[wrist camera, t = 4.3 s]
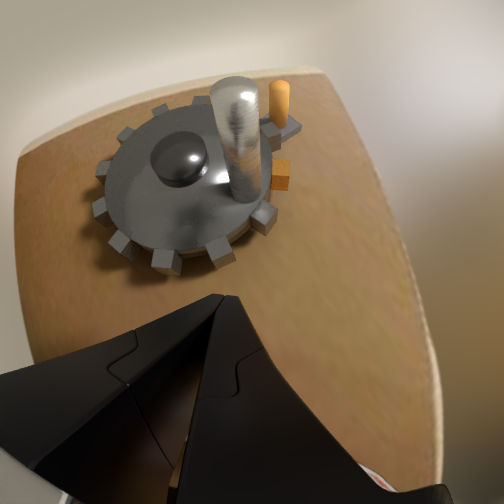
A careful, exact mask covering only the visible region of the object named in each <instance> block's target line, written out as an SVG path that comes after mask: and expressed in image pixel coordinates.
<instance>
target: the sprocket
mask: <svg viewBox="0 0 504 504" xmlns="http://www.w3.org/2000/svg"><path fill="white" fill-rule="evenodd" d="M210 97H211V99H210ZM211 101H212V104H211ZM152 113H153V115H154V118H152V119H150V120H149V121H147V122H146V123H144V124H143V125H141V126H140V127H139V128H138V129H136V130H133V129H131V128H129V127H126V128H125V129H124V130H123V131H122V132H121V133H120V134H119V135H118V136H117V137H116V138H117V140H118V141H119V143H120V144H121V146H120V148H119V149H118V151H117V152H116V154H115V156H114V157H113V159H112V161H101V162H100V163H99V166H98V169H97V171H96V174H95V176H96V177H97V179H98V180H99V181H100V182H101V183H102V184H103V185H104V186H105V196H104V197H102V198H100V199H98V200H97V201H95V202H93V203H92V207H93V213H94V218H95V219H96V220H98V221H99V222H100V223H101V224H103V225H104V226H105V227H106V228H107V227H109V226H111V225H113V224H115V225H116V226H117V228H118V230H117V231H116V233H115V234H114V235H113V237H112V238H111V239H110V241H109V242H108V243H109V244H110V245H111V246H112V247H113V248H114V249H115V250H117V251H118V252H119V253H120V254H121V255H123V256H124V257H126V258H127V259H129V260H130V261H133V260H134V258H135V257H136V256H137V254H138V253H139V252H140V250H141V248H142V249H144V250H146V251H148V252H150V253H152V254H153V258H152V264H151V267H152V268H154V269H155V270H157V271H158V272H160V273H161V274H168V275H178V276H180V273H181V266H182V260H183V259H182V258H192V257H198V256H202V255H206V254H209V255H210V258H211V260H212V262H213V263H214V265H215V266H216V268H217V269H219V268H221V267H223V266H225V265H227V264H230V263H232V262H234V261H236V259H235V256H234V253H233V251H232V249H231V246H230V244H231V243H232V242H234V241H235V240H237V239H238V238H240V237H241V236H242V235H243V234H244V233H245V232H247V231H248V230H249V229H250V228H253V229H255V230H256V231H258V232H259V233H261V234H263V235H264V236H266V235H267V234H268V233H269V231H270V230H271V228H272V227H273V226H274V224H275V223H276V222H277V212H278V208H276V207H274V206H273V205H271V204H269V203H268V199H269V195H270V192H271V186H272V190H285V191H288V184H289V176H290V160H283V159H273V166H272V153H271V152H274V151H276V150H279V149H281V132H280V131H279V129H278V128H277V126H276V125H275V124H274V122H270V123H267V124H264V125H261V126H259V106H258V87H257V84H256V83H255V82H254V81H253V80H251V79H249V78H246V77H240V76H233V77H227V78H224V79H222V80H219V81H218V82H216V83H215V84H214V85H213V86H212V87H211V89H210V96H194V99H193V102H192V105H190V106H184V107H180V108H176V109H173V110H170V111H169V109H168V107H167V105H166V103H165V104H163V105H161V106H158V107H156V108H154V109H152ZM139 246H140V247H141V248H140V247H139Z"/></svg>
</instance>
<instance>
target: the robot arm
mask: <svg viewBox="0 0 504 504" xmlns="http://www.w3.org/2000/svg"><path fill="white" fill-rule="evenodd" d="M187 435H188V437H187ZM186 438H187V442H186V447H185V452H184V457H183V462H182V467H181V472H180V478H179V483H178V488H177V490H173V489H169V483H170V479H171V476H172V473H173V469H174V468H175V466H176V463H177V460H178V458H179V455H180V453H181V450H182V448H183V445H184V443H185V440H186ZM0 504H454V503H453V499H452V497H451V494H450V491H449V489H448V488H447V486H446V485H445V484H435V485H430V486H426V487H422V488H419V489H415V490H411V491H407V492H393V491H389V490H386V489H384V488H382V487H381V486H380V485H378V484H377V483H376V482H375V481H374V480H373V479H372V478H371V477H370V476H369V475H368V474H367V473H366V471H365V470H364V469H363V468H362V467H361V466H360V465H359V464H358V463H357V462H356V461H355V460H354V459H353V458H352V456H351V455H350V454H349V453H348V452H347V451H346V450H345V449H344V448H343V447H342V445H341V444H340V443H339V442H338V441H337V440H336V439H335V438H334V436H333V435H332V434H331V433H330V432H329V431H328V430H327V429H326V427H325V426H324V425H323V424H322V423H321V422H320V420H319V419H318V418H317V417H316V416H315V415H314V413H313V412H312V411H311V410H310V409H309V408H308V406H307V405H306V404H305V403H304V402H303V400H302V399H301V398H300V397H299V396H298V394H297V393H296V392H295V391H294V390H293V388H292V387H291V386H290V385H289V384H288V382H287V381H286V380H285V378H284V377H283V376H282V374H281V373H280V372H279V370H278V369H277V368H276V366H275V364H274V363H273V361H272V359H271V358H270V356H269V354H268V352H267V350H266V349H265V347H264V345H263V344H262V342H261V340H260V338H259V336H258V334H257V332H256V330H255V328H254V326H253V324H252V322H251V320H250V318H249V317H248V315H247V313H246V311H245V309H244V307H243V305H242V303H241V301H240V299H239V297H238V296H231V295H226V296H224V295H221V294H211V295H209V296H206V297H204V298H202V299H200V300H198V301H196V302H194V303H191V304H189V305H187V306H185V307H183V308H181V309H178V310H176V311H174V312H172V313H170V314H167V315H165V316H163V317H161V318H159V319H156V320H154V321H152V322H150V323H147V324H145V325H143V326H141V327H139V328H136V329H135V331H134V330H131V331H129V332H126V333H124V334H122V335H119V336H117V337H114V338H112V339H110V340H107V341H104V342H101V343H99V344H96V345H93V346H90V347H87V348H84V349H81V350H78V351H75V352H72V353H69V354H66V355H63V356H60V357H57V358H53V359H50V360H47V361H44V362H41V363H37V364H34V365H31V366H28V367H25V368H21V369H18V370H14V371H11V372H8V373H4V374H1V375H0Z"/></svg>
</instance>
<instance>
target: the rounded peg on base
mask: <svg viewBox="0 0 504 504" xmlns="http://www.w3.org/2000/svg"><path fill="white" fill-rule="evenodd" d="M289 90H290V85H289V84H288V83H287V82H285V81H282V80H275V81H272V82H271V83H270V84H269V114H267V115H265V116H264V117H262V118H260V119H259V126H261V125H264V124H267V123H270V122H274V124H275V125H276V126H277V128H278V129H279V131H280V132H281V143H282V142H284V141H285V140H287V139H289V138H290V137H292V136H293V135H295V134H296V133H298V132H299V131H301V127H302V124H300V123H299V122H298V121H296V120H295V119H294V118H292V117H291V116H290V115H288V105H289Z"/></svg>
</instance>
